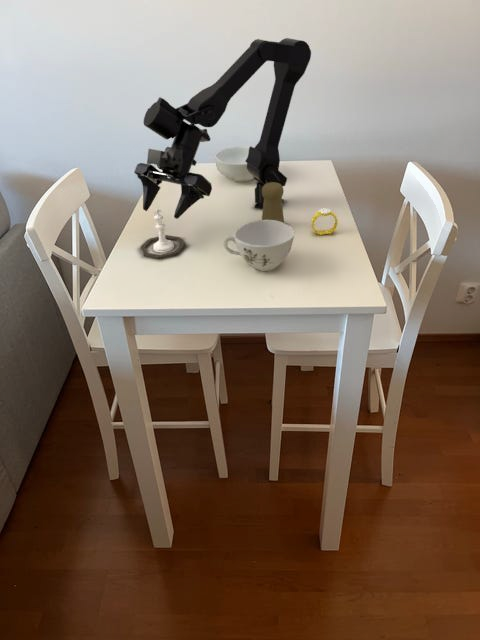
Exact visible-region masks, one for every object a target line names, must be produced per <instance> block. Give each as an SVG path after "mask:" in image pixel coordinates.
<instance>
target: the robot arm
mask: <svg viewBox="0 0 480 640" xmlns="http://www.w3.org/2000/svg"><path fill="white" fill-rule="evenodd" d="M311 57H312V50H311V48H310V45H309V44H308V43H307V42H306V41H305V40H301V39H295V38H289V37H286V38H283V39H281V40H280V41H273V40H265V39H260V38H257V39H254V40H253V41H252V42H251V43H250V44H249V46H248V48H247V49H245V51H243V53H242V54H241V55H239V57H238V58H237V59H236V60H235V61H234V62H233V63H232V64H231V66H230V67H229V68H227V70H226V71H225V72H224V73H223V74H222V75H221V76H220V77H219V79H217V80H216V82H214V83H213V84H212V85H210V86H207V87H206V88H203V89H202V90H200V91H199V92H198V93H195V95H194V96H192V97H191V98H190V99H189V101H188V102H187V103H185V104H182V105H181V106H178V107H174V106H173V105H172V104H171V103H169V102H168V101H167V100H166V99H164V98H163V97H161V96H159V97H158V99H157V101H155V102H154V103H152V105H151V106H149V108H147V110H146V112H145V114H144V117H143V125H144V127H146V128H148V129H149V130H150V131H152V132H154V133H155V134H156V135H158V136H160V137H161V138H163V139H165V140H170V139H173V141H172V143H171V146H167V147H165V148H164V150H158V149H152V148H148V151H147V160H146V163H144V162H139V163H138V164H136V166H135V169H134V174H135V175H136V176H137V179H138V180H140V182H141V185H142V210H143V211H145V212H148V210H149V209H150V208H151V206H152V204H153V202H154V200H155V198H156V197H157V195H158V193H159V191H160V190H161V186H160V185H161V184H162V183H163V182H167V183H172V184H174V185H175V184H176V185H180V189H181V191H180V196H179V199H178V202H177V205H176V207H175V210H174V215H173V218H174V219H175V220H178V219H179V218H180V217H181V216H183V214H184V213H186V212H187V210H188V209H190V208H191V207H192V206H193V205H194V204H195V203H197V202H198V201H199V200H200V199H204V198H205V197H210V195H211V194H212V193H211V192H212V191H213V185H212V183H211V181H209V180H208V179H207V178H206V177H205V176H204V175H203V174H200V173H195V172H190V171H191V168H192V167H193V166H194V167H196V165H197V161H196V160H195V157H196V155H197V152H198V150H199V147H200V144H201V143H205V142H210V141H211V137H210V135H209V133H208V129H207V128H213V127H214V126H216V125H217V124H218V123H219V121H220V120H221V118H222V117H223V115H224V114H225V112H226V110H227V107H228V104H229V102H230V101H231V99H232V98H233V97H234V96H235V95H236V94H237V92H238V91H240V89H242V88H243V86H244V85H245V84H246V83H247V82H248V81H249V80H250V79H251V78H252V77H253V76H254V75H255V74H256V73H257V71H259V70H260V68H261V67H262V66H263V65H264V64H265V63H267V62H273V72H274V84H273V88H272V90H271V91H272V92H271V95H270V100H269V102H268V107H267V110H266V115H265V119H264V124H263V127H262V130H261V134H260V138H259V141H258V142H257V144H255V146H253V147H251V146H252V145H249V146H250V148H249V153H248V157H247V159H246V161H245V162H247V170H248V172H249V173H250V174H251V175H252V176H253V178H254V179H253V180H254V181H256V183H255V188H254V203H255V204H254V208H255V209H262V210H263V203H264V197H263V196H262V188H263V186H264V185H265V184H266V183H270V182H276V183H279V184H281V185H282V187H283V188H284V187H285V186H286V184H287V180H288V177H287V176H286V175H284V174H283V173H282V172H281V171H280V162H281V159H280V150H279V147H280V146H279V145H280V141H281V138H282V135H283V130H284V127H285V123H286V121H287V116H288V113H289V109H290V105H291V103H292V102H291V101H292V98H293V94H294V90H295V88H296V85H297V84H298V82H299V81H300V80H301V78H303V76H304V75H305V72H306V70H307V68H308V65H309V63H310V61H311ZM189 123H190V124H189ZM197 125H199V126H201V127H204V128H203V129H201V128H200V127H199V126H197ZM254 147H255V148H254ZM154 165H156V167H155V166H154ZM160 170H161V171H160ZM281 201H282V204H284V203H285V199H284V198H283V196H282V197H281Z"/></svg>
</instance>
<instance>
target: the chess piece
mask: <svg viewBox="0 0 480 640" xmlns="http://www.w3.org/2000/svg"><path fill="white" fill-rule="evenodd" d="M162 212H163V211H162V209H159V207H156V208H155V210H154V211H153V214H155V215H154V216H153V218H154V220H155V221H156V224H155V228H156V229H158V237H159V241H155V242H154V243H153V247H152V249H153V251H154V252H156V253H169V252H170V251H172V250H173V249H174V248H175V245H174V242H173V240H168V239H166V238H165V236H166V234H165V232H164V228H165V227H166V224H164V223H163V220H164V215H163V214H160V213H162Z"/></svg>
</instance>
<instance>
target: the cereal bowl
mask: <svg viewBox="0 0 480 640" xmlns="http://www.w3.org/2000/svg"><path fill="white" fill-rule="evenodd" d="M250 146H251V147H254V148H255V146H252V145H238V146H229V147H226V148H222V149H220V150H218V151H217V152H216V153H215V155H214V163H215V167H216V169H217V171H218V172H219V173H220V174H221V175H222V176H224V177H226V178H228V179H231V180H232V181H235V182H239V183H240V182H250V181H252V180H254V178H253V176H252V175H251V174H250V173H249V172H248V170H247V162H245V161H246V159H247V157H248V153H249V148H250Z"/></svg>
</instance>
